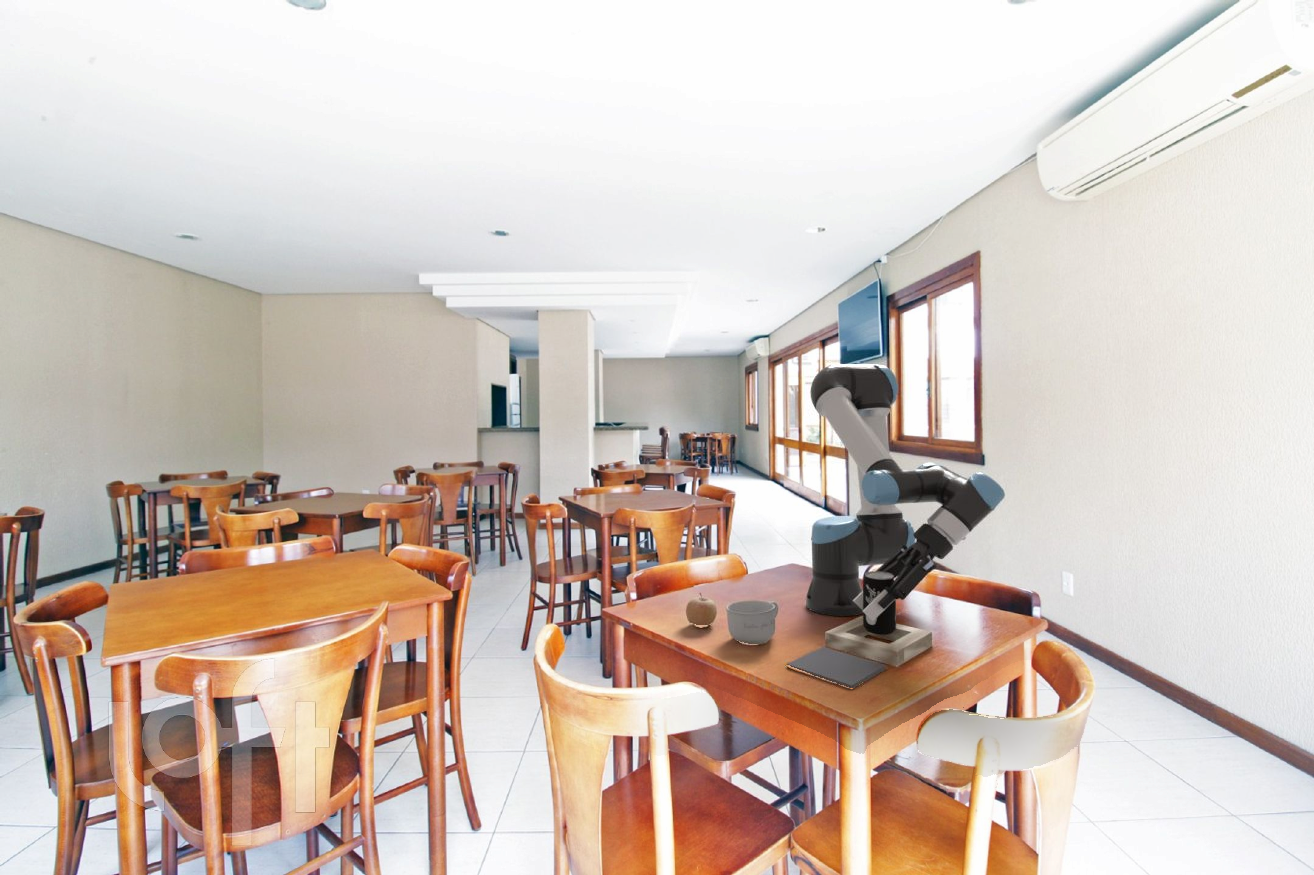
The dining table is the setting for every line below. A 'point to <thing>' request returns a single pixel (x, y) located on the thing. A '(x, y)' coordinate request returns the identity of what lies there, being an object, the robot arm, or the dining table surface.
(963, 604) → the dining table surface
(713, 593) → the dining table surface
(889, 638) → the can holder
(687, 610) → the fruit
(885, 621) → the beverage can
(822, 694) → the dining table surface
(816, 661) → the mat
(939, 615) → the dining table surface
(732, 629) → the teacup
